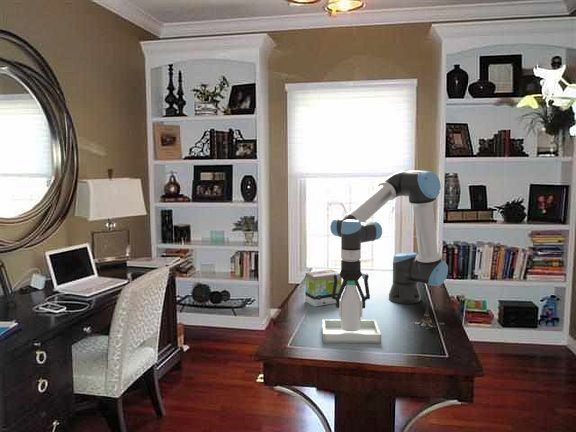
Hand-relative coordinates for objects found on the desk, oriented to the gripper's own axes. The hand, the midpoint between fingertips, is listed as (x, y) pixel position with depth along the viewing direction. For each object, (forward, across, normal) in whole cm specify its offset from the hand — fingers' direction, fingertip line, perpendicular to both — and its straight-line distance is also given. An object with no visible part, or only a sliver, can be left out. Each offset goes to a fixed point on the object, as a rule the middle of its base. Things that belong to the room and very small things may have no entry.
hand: (350, 315), depth 189 cm
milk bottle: (+5, 0, 0) cm, 5 cm away
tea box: (+8, -10, +42) cm, 44 cm away
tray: (+8, 0, 0) cm, 8 cm away
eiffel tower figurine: (+9, +33, +11) cm, 36 cm away
